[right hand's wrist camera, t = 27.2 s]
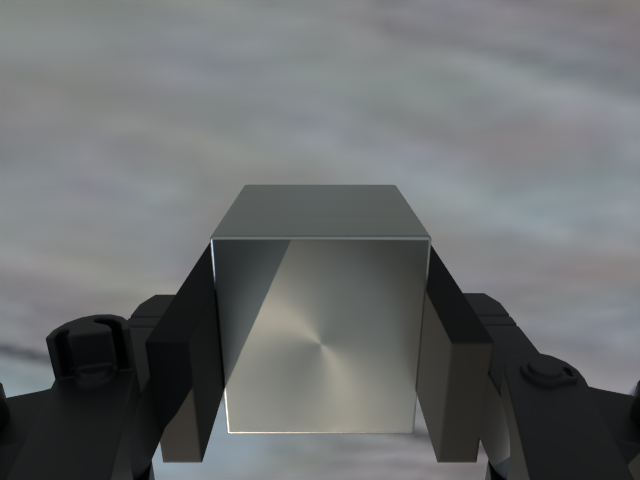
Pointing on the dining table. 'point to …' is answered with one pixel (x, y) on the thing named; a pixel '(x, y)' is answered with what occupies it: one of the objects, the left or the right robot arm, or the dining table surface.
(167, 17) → the dining table surface
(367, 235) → the metal block
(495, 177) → the dining table surface
